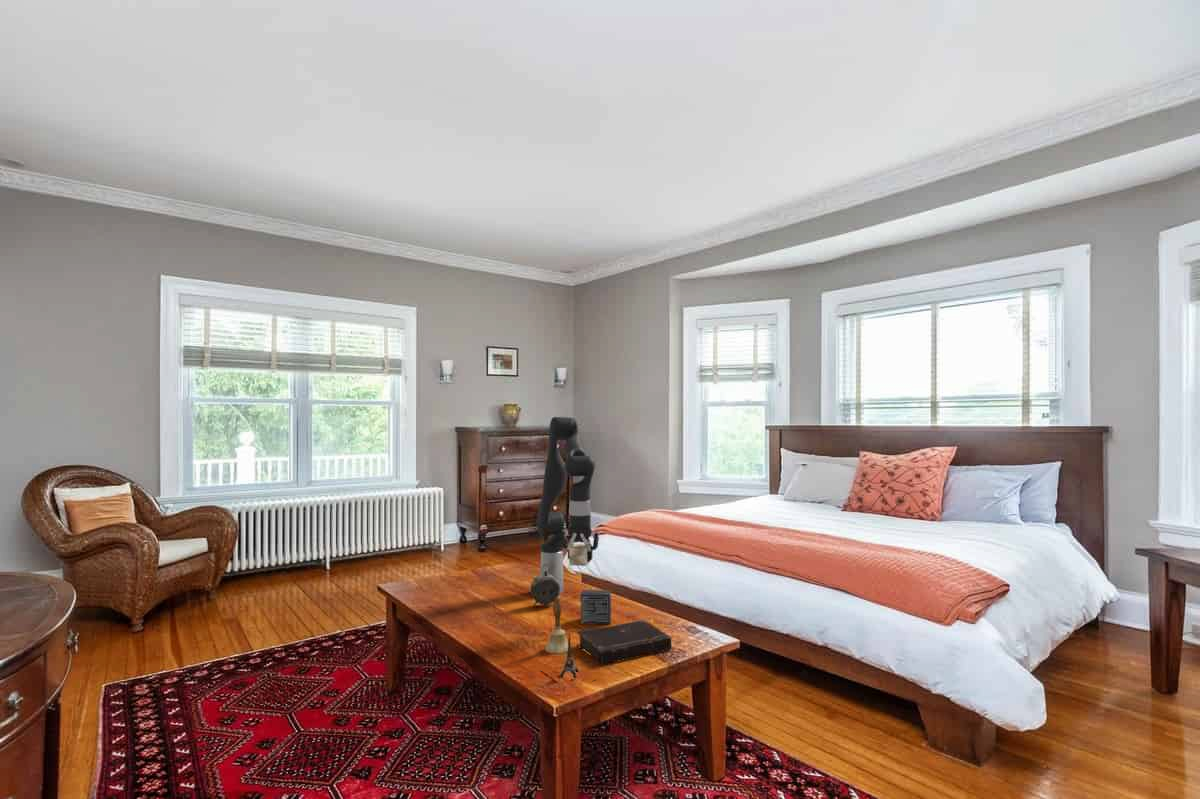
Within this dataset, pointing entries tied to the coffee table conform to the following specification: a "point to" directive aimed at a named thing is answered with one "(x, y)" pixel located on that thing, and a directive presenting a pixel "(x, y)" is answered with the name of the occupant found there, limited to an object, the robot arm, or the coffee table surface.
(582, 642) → the diary
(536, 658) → the coffee table surface
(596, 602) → the small box
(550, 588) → the alarm clock
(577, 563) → the birch cube
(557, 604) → the hand bell
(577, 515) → the robot arm
